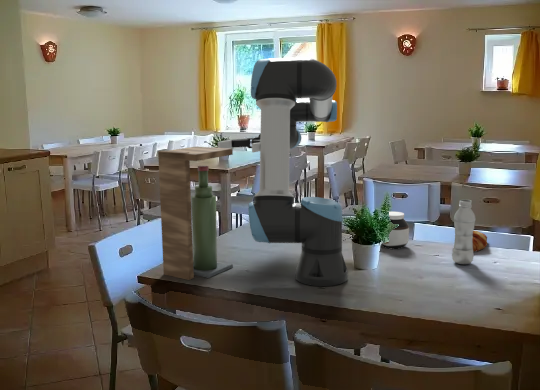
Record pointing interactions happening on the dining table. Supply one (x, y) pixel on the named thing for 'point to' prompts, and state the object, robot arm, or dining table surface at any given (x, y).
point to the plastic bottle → (463, 233)
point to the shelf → (179, 206)
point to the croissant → (479, 241)
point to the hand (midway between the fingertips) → (235, 146)
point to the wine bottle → (204, 224)
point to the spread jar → (398, 232)
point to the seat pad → (213, 272)
